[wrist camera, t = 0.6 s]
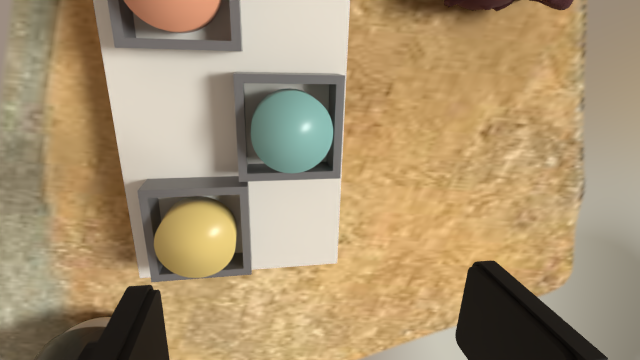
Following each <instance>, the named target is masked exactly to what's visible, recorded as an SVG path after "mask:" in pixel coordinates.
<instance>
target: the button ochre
mask: <svg viewBox="0 0 640 360" xmlns="http://www.w3.org/2000/svg"><path fill="white" fill-rule="evenodd" d="M236 236H237V223H236V220H235V217H234V215H233V214H232V212H231V211H230V210H229V208H228V207H226V206H225V205H224V204H223V203H221V202H219V201H218V200H215V199H213V198H209V197H204V196H194V197H188V198H185V199H182V200H180V201H178V202H177V203H175V204H174V205H173V206H172V207H171V208H170V209H169V210H168V211H167V213H166V214H165V216H164V218H163V220H162V222H161V224H160V225H159V227H158V229H157V231H156V234H155V238H154V249H155V252H156V255H157V257H158V259H159V261H160V262H161V263H162V264H163V265H164V266H165V267H166V268H167V269H168V270H170V271H171V272H173V273H175V274H177V275H180V276H183V277H188V278H202V277H207V276H210V275H213V274H215V273H217V272H219V271H221V270H222V269H223V268H224V267H226V266H227V264H228V263H229V262H230V261H231V259H232V257H233V255H234V252H235V247H236Z"/></svg>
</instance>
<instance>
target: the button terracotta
mask: <svg viewBox="0 0 640 360" xmlns="http://www.w3.org/2000/svg"><path fill="white" fill-rule="evenodd" d="M124 2H125V3H126V4H127V6H128V7H129V8H130V9H131V10H132V11H133V13H134V14H135V15H137V16H138V17H139V18H140V19H142V20H143V21H145V22H146V23H148V24H150V25H152V26H154V27H156V28H159V29H162V30H166V31H170V32H175V33H191V32H195V31H198V30H200V29H202V28H204V27H205V26H207V25H208V24H209V23H210V22H211V21H212V20H213V19H214V18H215V16H216V15H217V13H218V11H219V9H220V6H221V3H222V0H124Z"/></svg>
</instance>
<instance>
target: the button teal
mask: <svg viewBox="0 0 640 360" xmlns="http://www.w3.org/2000/svg"><path fill="white" fill-rule="evenodd" d="M332 140H333V125H332V121H331V118H330V115H329V113H328V112H327V110H326V109H325V107H324V106H323V105H322V104H321V103H320V102H319V101H318V100H316V99H315V98H314V97H312V96H311V95H310V94H308V93H306V92H304V91H301V90H298V89H291V88H287V89H280V90H277V91H274V92H272V93H270V94H268V95H267V96H265V97H264V98H263V99H262V100H261V101H260V102H259V104H258V105H257V107H256V108H255V111H254V113H253V116H252V121H251V141H252V145H253V148H254V150H255V152H256V154H257V155H258V157H259V158H260V159H261V160H262V161H263V162H264V163H265V164H266V165H267V166H269V167H270V168H272V169H274V170H276V171H279V172H283V173H300V172H304V171H307V170H309V169H311V168H313V167H314V166H316V165H317V164H318V163H320V162H321V161H322V160H323V158H324V157H325V156H326V154H327V153H328V151H329V149H330V147H331V144H332Z"/></svg>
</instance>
